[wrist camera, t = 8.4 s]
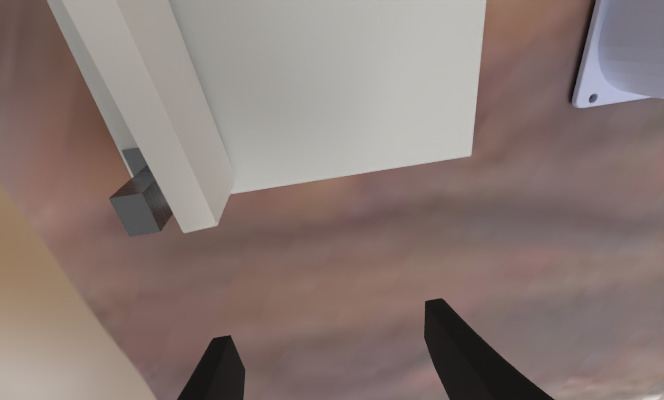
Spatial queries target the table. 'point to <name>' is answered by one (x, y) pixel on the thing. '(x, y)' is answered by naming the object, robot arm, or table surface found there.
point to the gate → (159, 102)
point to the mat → (322, 83)
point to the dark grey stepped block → (140, 198)
